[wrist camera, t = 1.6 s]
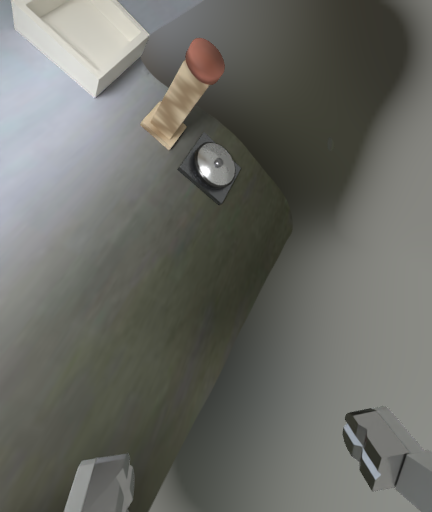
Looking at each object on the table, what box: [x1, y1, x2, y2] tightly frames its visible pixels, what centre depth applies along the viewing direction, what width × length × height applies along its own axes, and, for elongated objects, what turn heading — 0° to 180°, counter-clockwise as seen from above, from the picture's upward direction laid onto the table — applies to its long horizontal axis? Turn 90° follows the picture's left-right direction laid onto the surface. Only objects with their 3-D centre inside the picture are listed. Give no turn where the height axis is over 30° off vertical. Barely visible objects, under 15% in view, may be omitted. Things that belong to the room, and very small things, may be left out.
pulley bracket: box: [177, 132, 241, 205], centre depth 48 cm, size 10×10×3 cm
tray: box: [11, 0, 150, 98], centre depth 39 cm, size 12×14×4 cm
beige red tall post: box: [140, 38, 225, 150], centre depth 39 cm, size 6×6×16 cm
